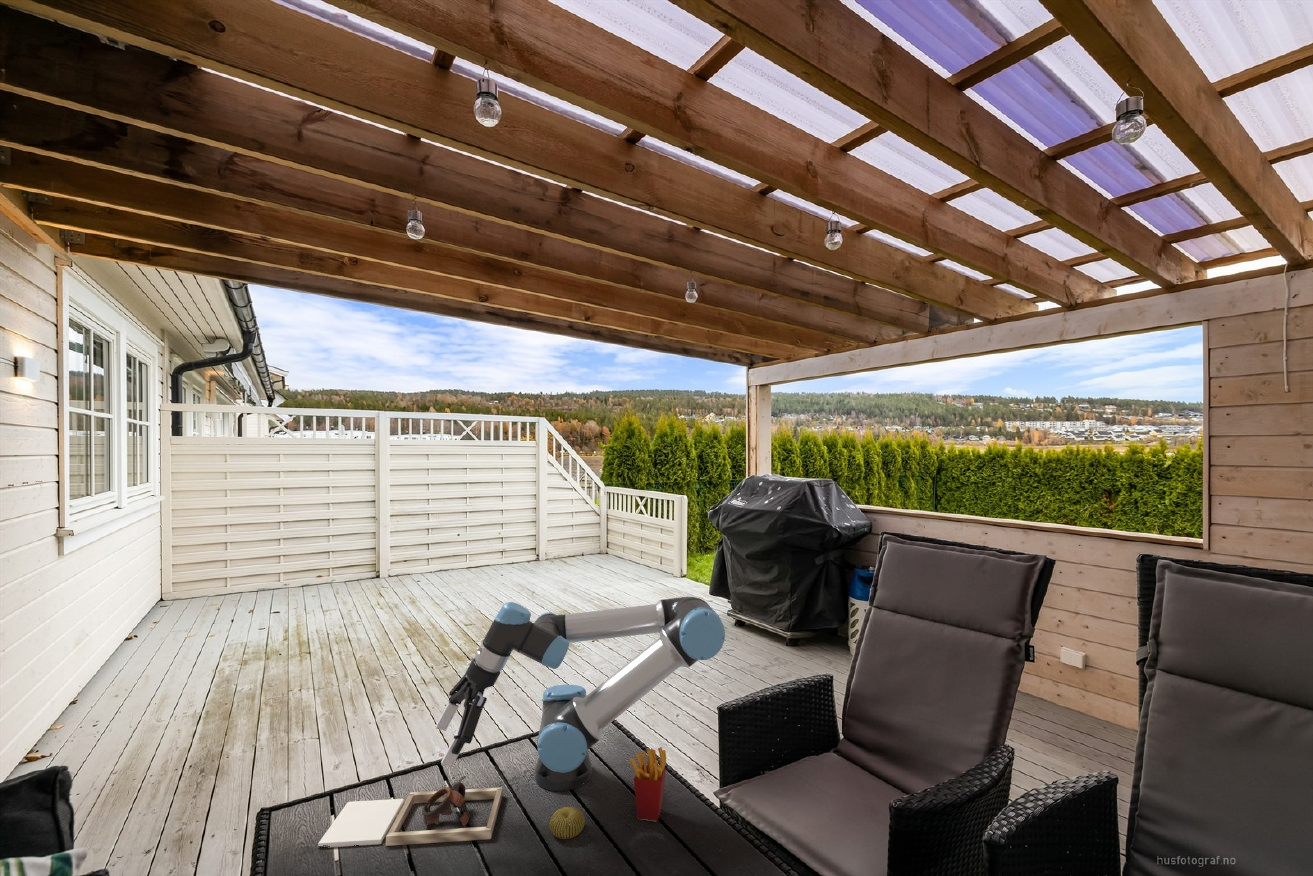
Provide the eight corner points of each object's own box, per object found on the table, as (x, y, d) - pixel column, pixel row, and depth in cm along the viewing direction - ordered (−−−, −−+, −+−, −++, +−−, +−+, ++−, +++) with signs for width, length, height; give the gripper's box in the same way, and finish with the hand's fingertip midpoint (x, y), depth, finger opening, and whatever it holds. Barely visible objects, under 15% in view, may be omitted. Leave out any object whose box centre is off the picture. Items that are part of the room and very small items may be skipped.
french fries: (660, 826, 131) (661, 760, 131) (626, 820, 132) (626, 755, 133) (668, 803, 139) (668, 741, 140) (635, 799, 141) (636, 737, 142)
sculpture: (583, 801, 134) (586, 822, 126) (583, 818, 133) (585, 841, 126) (549, 804, 132) (549, 826, 124) (549, 822, 132) (549, 845, 124)
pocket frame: (502, 795, 142) (502, 787, 142) (490, 839, 126) (491, 829, 126) (409, 800, 139) (410, 792, 140) (385, 845, 123) (386, 836, 123)
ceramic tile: (403, 802, 139) (403, 798, 139) (380, 844, 124) (380, 839, 124) (347, 806, 137) (348, 801, 137) (317, 848, 122) (318, 843, 122)
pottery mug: (463, 837, 127) (444, 809, 126) (429, 851, 128) (409, 824, 127) (483, 793, 139) (465, 767, 137) (451, 806, 140) (433, 780, 139)
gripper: (465, 636, 146) (424, 712, 144) (482, 687, 124) (433, 778, 122) (491, 645, 150) (451, 719, 148) (512, 696, 128) (465, 784, 126)
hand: (443, 746), depth 135 cm, fingers open, 13 cm apart
